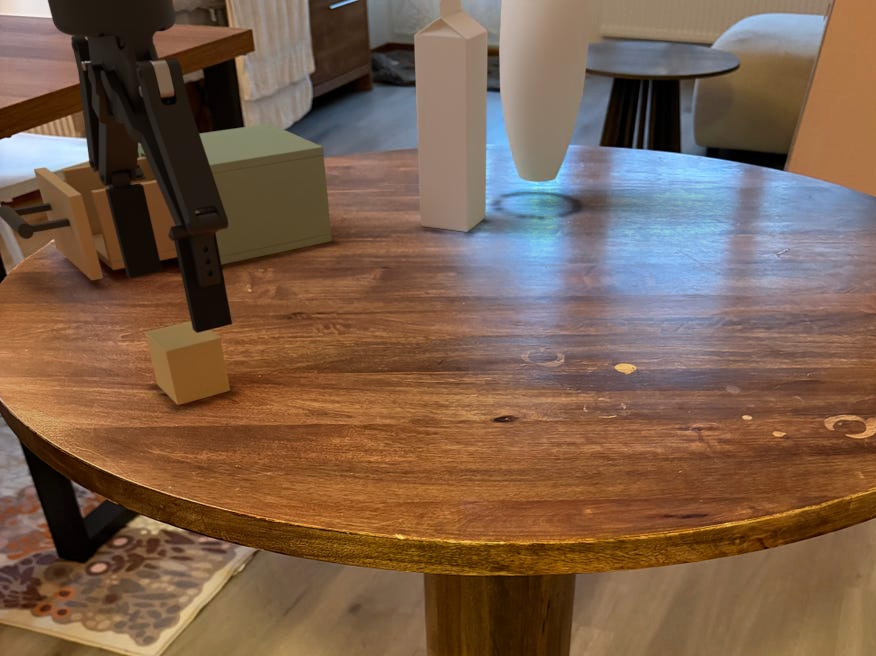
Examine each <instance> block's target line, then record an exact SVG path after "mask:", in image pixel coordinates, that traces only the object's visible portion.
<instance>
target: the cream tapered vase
mask: <svg viewBox="0 0 876 656" xmlns="http://www.w3.org/2000/svg"><path fill="white" fill-rule="evenodd" d="M500 7H501V8H500V25H499V26H500V27H499V43H498V45H499V46H498V47H499V49H498V50H499V53H498V54H499V92H500V100H501V107H502V114H503V120H504V127H505V133H506V139H507V142H508V145H509V148H510V153H511V157H512V161H513V163H514V166H515V169H516V172H517V175H518V177H519V179H521V180H522V181H523V180H524V181H527V182H534V183H535V182H536V183H542V182H543V183H545V182H550V181H554V180H556V179H557V177H558V174H559V172H560V170H561V168H562V165H563V164H564V161H565V158H566V156H567V153H568V150H569V147H570V144H571V141H572V139H573V135H574V132H575V128H576V124H577V119H578V116H579V112H580V108H581V107H580V106H581V103H582V99H583V95H584V88H585V79H586V70H587V64H588V63H587V61H588V53H589V39H590V38H589V37H590V35H589V34H590V15H591V13H590V12H591V0H501V6H500Z"/></svg>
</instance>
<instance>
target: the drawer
mask: <svg viewBox="0 0 876 656" xmlns="http://www.w3.org/2000/svg"><path fill="white" fill-rule="evenodd" d="M138 164H139V165H140V168H141V169H142V171H143V173H144V175H143V177H146V179H144V180H139V181H133V182H131V185H132V184H138V183H140V184H142V185H143V187H144V192H145V196H146V200H147V205H148V209H149V214H150V218H151V223H152V227H153V231H154V236H155V240H156V245H157V249H158V254H159V258H160V262H161V261H164V260H169V259H174V258H178V257H177V252H176V248H175V243H174V241H171V240H170V238H169V236H168V235H169V231H170V229H171V228H170V227H172V226H176V225H175V223H174V221H173V218H172V216H171V214H170V211H169V209H168V207H167V204H166V202H165V200H164V197H163V195H162V193H161V190H160V188H159V186H158V183H157V181H156V179H155V176H154V174H153V172H152V169H151V167H150V165H149V162H148V160H147V158H146V156H145V157H139V156H138V159H137V165H138ZM33 170H34V171H33V172H34V175H35V179H36V182H37V185H38V189H39V193H40V196H41V199H42V203H40V204H35V205H33V204H32V205H28V206H27V205H26V206H22V207H16V208H12V207H11V206H10V205H6V204H4V205H0V218H1V219H2V221H4V222H5V223H6V224H7V225H8V226H9V227H10V228H11V229H12V230H13V231H14V232H15V233H16V234H18V236H20V238H22V239H24V240H28V239H31V238H32V237H33V236H34V234H35V233H38V232H43V231H50V230H51V235H52V237H53V241H54V244H55V248H56V249H57V251H59V253H61V254H62V255H63V256H64V257H65V258H67V260H69V261H70V263H72V264H73V265H74V266H75V267H76V268H77V269H79V270H80V272H82V273H83V274H84V275H85V276H86V277H87V278H88V279H89V280H90V281H95V280H96V281H97V280H100V279H104V275H103V272H102V268H101V263H100V260H101V261H102V262H103V263H104V264H106V266H108V267H109V268H110V269H111V270H113V271H116V270H121V269H125V266H124V262H123V258H122V254H121V250H120V246H119V242H118V238H117V234H116V230H115V226H114V222H113V218H112V214H111V210H110V206H109V202H108V198H107V194H106V190H105V189H108V188H109V186H104V185H103V183H102V181H101V180H100V178H99V171H97V172H94V171H93V170H92V168H91V167H90V165H89V164H85V165H79V166H74V167H66V168H61V172H62V176H63V179H61V178H60V177H59V176H57V175H56V174H55V173H54V172H52V171H51V170H50V169H49V168H47V167H41V168H40V167H38V168H34V169H33ZM44 212H45V214H46V217H47V220H48V221H43V222H38V223H32V224H30V223H28V222H27V221H26V220H25V219H24V218H23V217H22V216H28V215H32V214H38V213H44Z"/></svg>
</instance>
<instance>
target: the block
mask: <svg viewBox="0 0 876 656" xmlns="http://www.w3.org/2000/svg"><path fill="white" fill-rule="evenodd" d="M144 336H145V340H146V344H147V348H148V353H149V356H150V361H151V365H152V370H153V374H154V378H155V381H156V385H157V386H158V387H159V388H160V389H161V390H162V391H163V392H164V393H165V395H167V397H169V398H170V399H171V400H172V401H173V402H174V403H175V404H176V405H177V406H180V405H184V404H188V403H191V402H194V401H199V400H202V399H205V398H209V397H213V396H216V395H220V394H223V393H227V392H230V391H231V387H230V381H229V377H228V371H227V366H226V360H225V355H224V350H223V344H222V339H221V337H220V336H219V335H218V334H216V333H215V332H214V331H213V330H212V329H211V330H207V331H203V332H199V333H197V332H195V331H194V330H193V327H192V323H191V320H189V321H184V322H181V323H177V324H172V325H169V326H164V327H160V328H156V329H152V330H151V329H150V330H147V331H144Z"/></svg>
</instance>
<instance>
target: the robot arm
mask: <svg viewBox="0 0 876 656" xmlns="http://www.w3.org/2000/svg"><path fill="white" fill-rule="evenodd" d="M47 3H48V7H49V11H50V12H49V13H50V15H51V19H52V22H53V25H54V27H55V28H56V29H57V30H58V31H59V32H60V33H62V34H65V35H69V36H71V38H70V40H71V43H70V45H71V49H72V51H73V55H74V59H75V63H76V68H77V73H78V80H79V81H78V83H79V89H80V95H81V96H80V97H81V106H82V115H83V122H84V130H85V136H86V137H85V139H86V147H87V155H88V165H90V167H91V168H92V170H93V171H94V172H97V171H99V178H100V180H101V181H102V183H103V185H104V186H109V188H108V189H105V190H106V194H107V198H108V202H109V206H110V210H111V214H112V218H113V222H114V226H115V230H116V234H117V238H118V242H119V246H120V250H121V254H122V258H123V262H124V266H125V268H124V269H125V273H126V276H127V277H128V278H129V279H133V278H134V279H135V278H138V277H143V276H148V275H151V274H157V273H163V268H162V263H161V261H160V258H159V254H158V249H157V245H156V240H155V236H154V231H153V227H152V223H151V218H150V214H149V209H148V205H147V200H146V196H145V192H144V187H143V185H142V184H140V183H138V184H132V185H131V182H133V181H139V180H144V179H146V177H143V175H144V173H143V171H142V169H141V168H140V165H139V164H138V165H137V159H138V158H139V153H138V143H140V144H141V146H142V149H143V151H144V153H145V156H146V158H147V160H148V162H149V165H150V167H151V169H152V172H153V174H154V176H155V179H156V181H157V183H158V186H159V188H160V190H161V193H162V195H163V197H164V200H165V202H166V204H167V207H168V209H169V211H170V214H171V216H172V218H173V221H174V223H175V225H176V226H172V227H170V228H171V229H170V231H169V235H168V236H169V238H170V240H171V241H174V243H175V248H176V252H177V257H176V258H177V261H178V266H179V270H180V275H181V280H182V285H183V289H184V294H185V299H186V303H187V309H188V312H189V317H190V321H191V323H192V327H193V330H194V331H195V332H197V333H199V332H203V331H207V330H211V331H212V330H215V329H218V328H223V327H228V326H230V325H231V326H232V325H233V322H232V321H233V319H232V315H231V310H230V305H229V298H228V293H227V288H226V282H225V277H224V270H223V266H222V265H223V264H222V265H221V260H220V254H219V249H218V244H217V238H216V233H215V232H218V230H221V229H226V228H228V218H227V216H226V213H225V210H224V207H223V204H222V201H221V198H220V195H219V192H218V189H217V186H216V183H215V180H214V177H213V174H212V171H211V168H210V165H209V162H208V159H207V156H206V153H205V150H204V146H203V143H202V140H201V137H200V134H201V133H200V131H199V129H198V125H197V123H196V119H195V116H194V113H193V110H192V107H191V105H190V101H189V98H188V93H187V88H186V84H185V80H184V74H183V67H182V66H181V64H180V61H179V59H178V58H177V57H175V56H174V57H167V58H165V57H164V58H159V55H158V52H157V49H156V45H155V43H154V36H155V34H156V33H157V32H165V31H168V30H170V29H172V28H173V27H174V26H175V24H176V20H177V18H176V11H175V6H174V5H175V4H174V0H47ZM196 210H197V211H199V212H200V213H195V212H196Z"/></svg>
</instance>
